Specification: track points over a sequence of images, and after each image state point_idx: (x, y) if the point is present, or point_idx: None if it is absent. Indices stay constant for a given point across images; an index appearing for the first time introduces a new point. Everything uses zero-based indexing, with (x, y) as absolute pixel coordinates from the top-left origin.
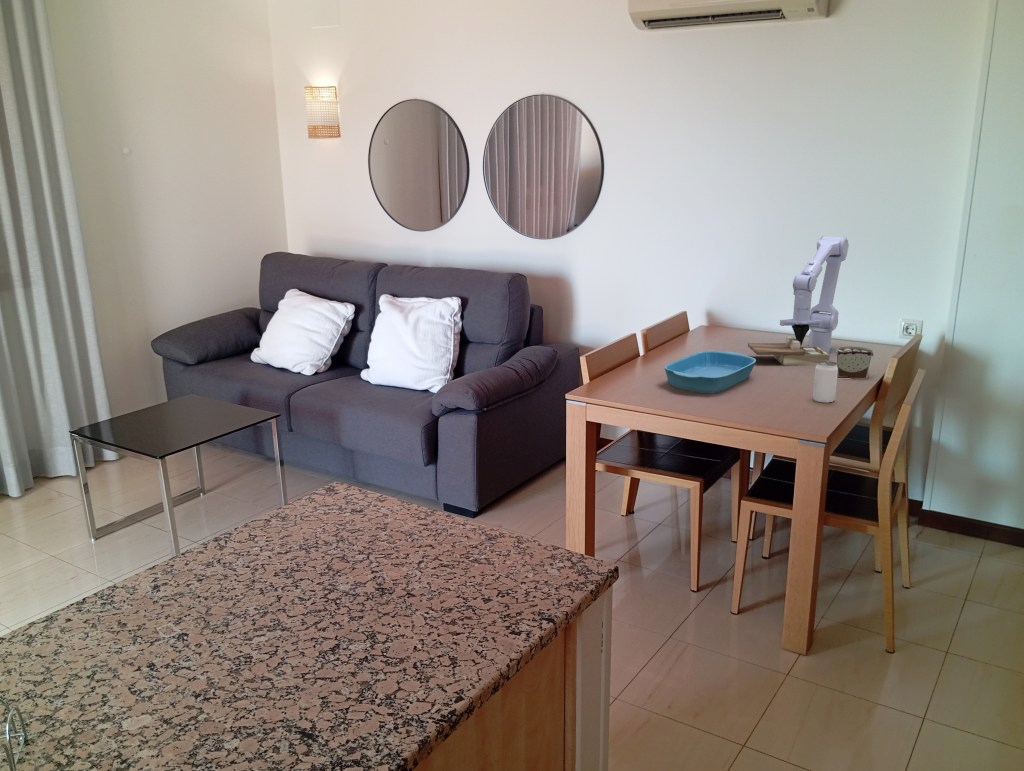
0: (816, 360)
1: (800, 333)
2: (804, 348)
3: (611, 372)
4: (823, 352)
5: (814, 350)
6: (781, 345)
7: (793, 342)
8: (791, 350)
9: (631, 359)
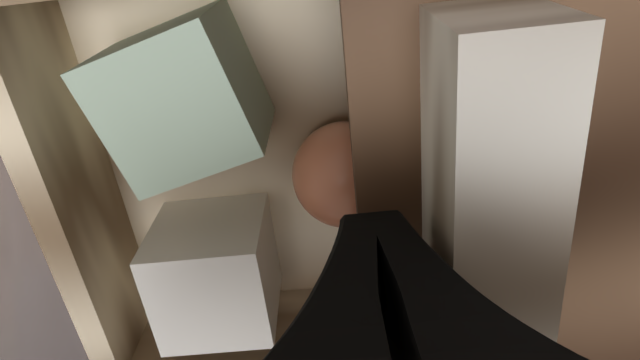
0: None
1: (441, 342)
2: (260, 327)
3: None
4: (27, 138)
5: (148, 260)
6: (580, 313)
7: (583, 101)
8: (565, 1)
9: None
